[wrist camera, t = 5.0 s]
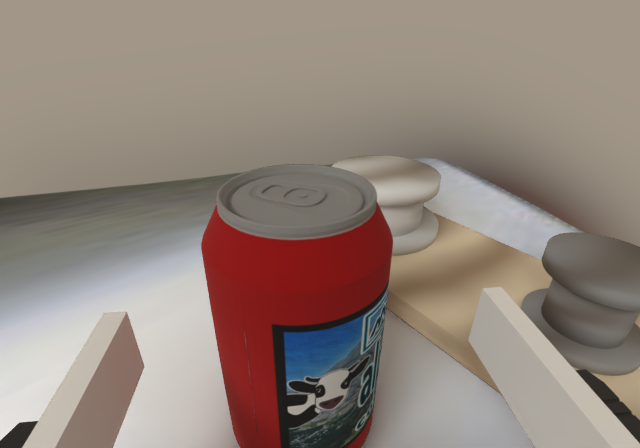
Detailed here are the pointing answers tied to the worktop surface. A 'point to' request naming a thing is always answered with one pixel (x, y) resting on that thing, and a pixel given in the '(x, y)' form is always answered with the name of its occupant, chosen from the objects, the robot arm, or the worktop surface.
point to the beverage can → (298, 303)
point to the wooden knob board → (507, 281)
